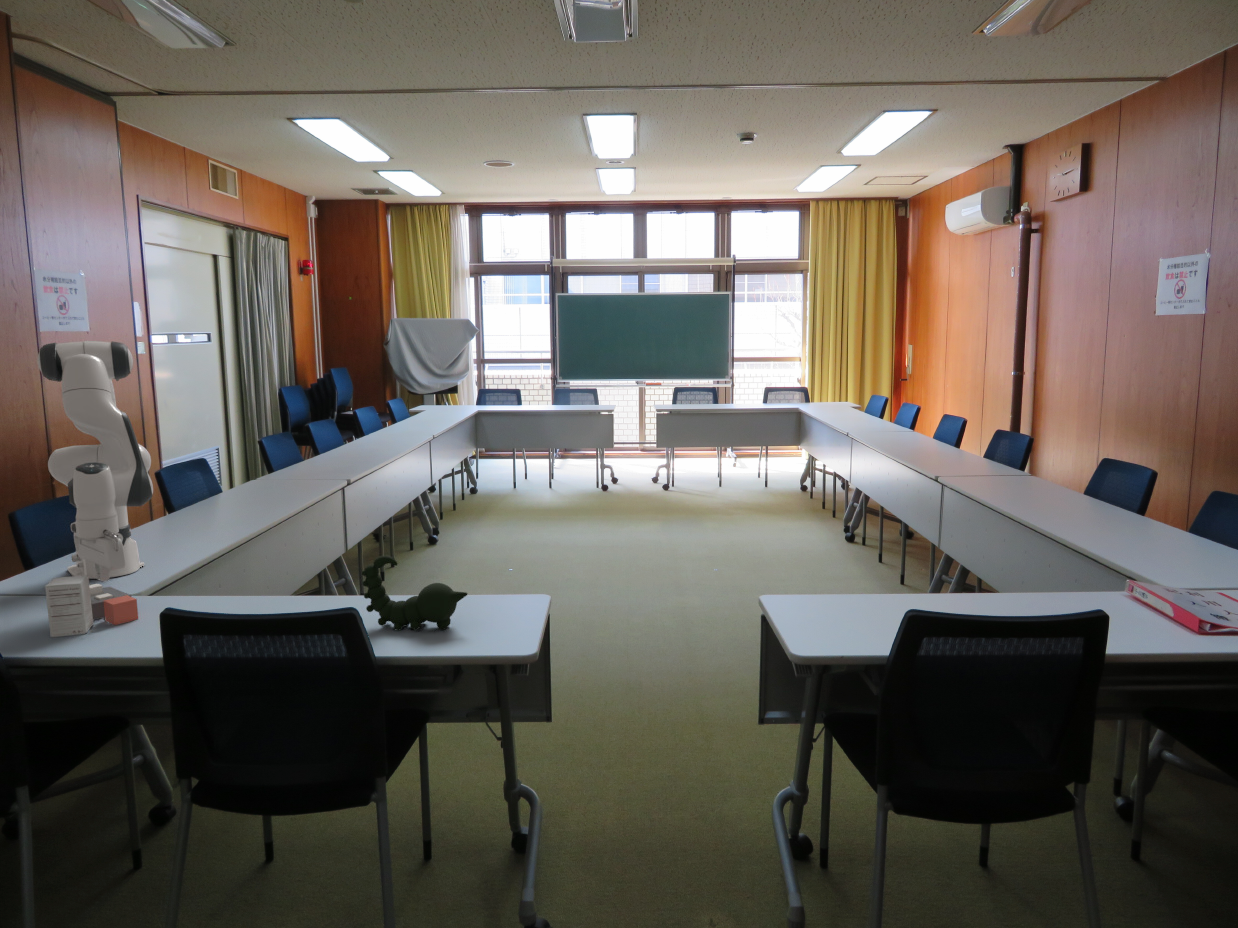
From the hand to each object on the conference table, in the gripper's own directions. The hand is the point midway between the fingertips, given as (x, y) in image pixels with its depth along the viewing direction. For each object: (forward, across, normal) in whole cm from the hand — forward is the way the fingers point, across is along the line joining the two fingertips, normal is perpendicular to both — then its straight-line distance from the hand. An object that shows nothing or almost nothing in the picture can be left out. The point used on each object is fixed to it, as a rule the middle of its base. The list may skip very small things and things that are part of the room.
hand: (103, 579), depth 204 cm
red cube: (+8, -10, 0) cm, 13 cm away
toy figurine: (+7, -74, -39) cm, 84 cm away
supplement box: (+8, -9, +11) cm, 16 cm away
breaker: (+7, +5, 0) cm, 8 cm away
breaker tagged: (+8, -1, 0) cm, 8 cm away
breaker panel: (+8, +2, 0) cm, 9 cm away
